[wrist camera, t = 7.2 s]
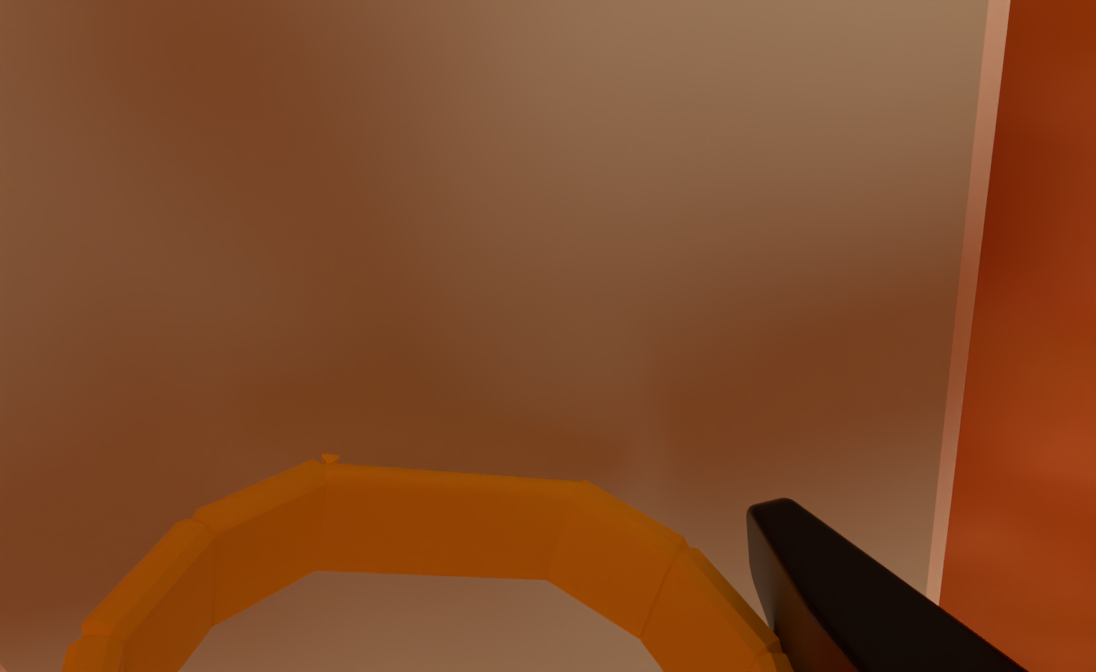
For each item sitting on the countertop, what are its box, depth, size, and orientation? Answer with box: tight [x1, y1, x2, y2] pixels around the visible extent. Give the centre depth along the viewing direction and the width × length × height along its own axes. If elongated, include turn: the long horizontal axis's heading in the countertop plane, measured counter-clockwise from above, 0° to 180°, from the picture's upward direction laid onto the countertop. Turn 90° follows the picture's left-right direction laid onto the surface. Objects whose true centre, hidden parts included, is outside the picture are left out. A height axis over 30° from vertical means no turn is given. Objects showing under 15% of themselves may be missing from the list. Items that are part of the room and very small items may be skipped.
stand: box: [0, 0, 1010, 672], centre depth 12 cm, size 14×14×4 cm
